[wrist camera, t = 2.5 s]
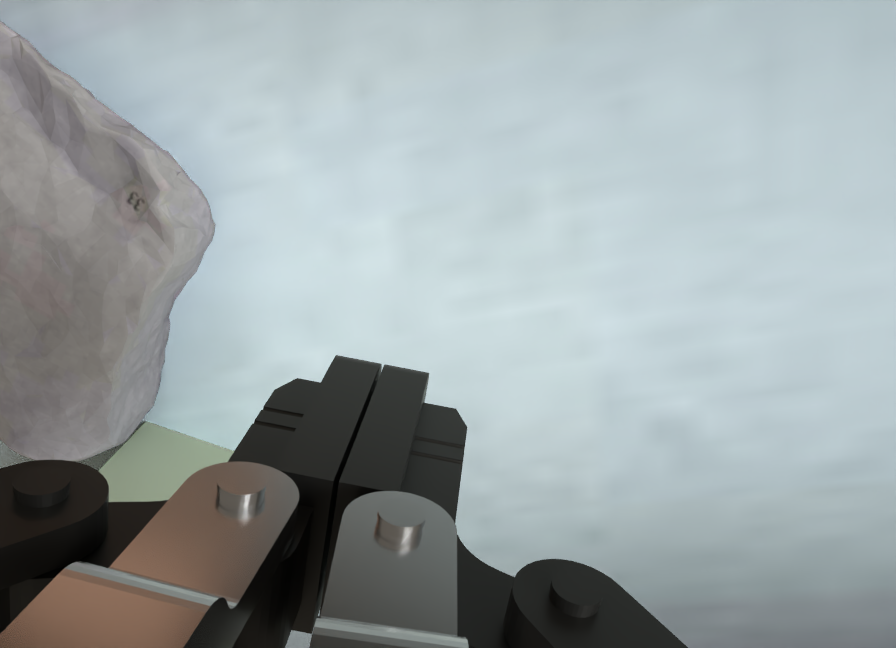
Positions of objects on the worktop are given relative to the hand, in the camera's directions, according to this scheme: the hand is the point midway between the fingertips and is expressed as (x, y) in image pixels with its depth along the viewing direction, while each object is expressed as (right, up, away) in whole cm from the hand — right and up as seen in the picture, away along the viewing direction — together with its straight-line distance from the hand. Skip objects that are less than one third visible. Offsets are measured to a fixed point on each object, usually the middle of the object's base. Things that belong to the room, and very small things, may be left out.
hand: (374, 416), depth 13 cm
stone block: (-11, +5, +10) cm, 16 cm away
